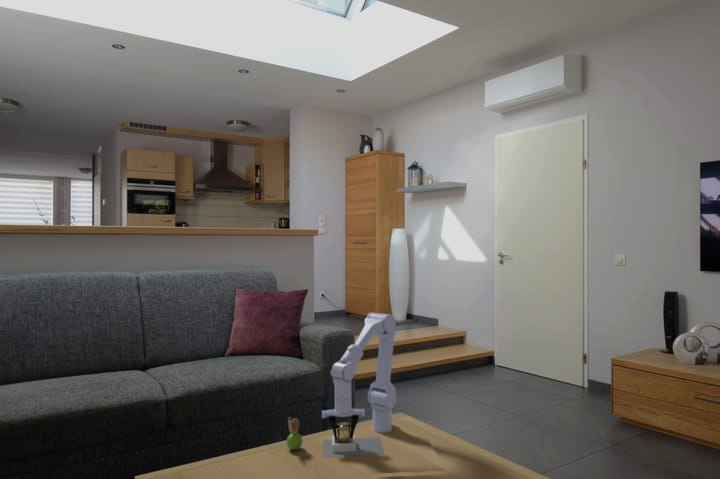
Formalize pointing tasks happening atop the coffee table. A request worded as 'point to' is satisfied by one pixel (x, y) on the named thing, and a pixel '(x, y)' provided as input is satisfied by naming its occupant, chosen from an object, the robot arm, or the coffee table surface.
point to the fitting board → (352, 447)
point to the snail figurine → (294, 435)
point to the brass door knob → (343, 432)
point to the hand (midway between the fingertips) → (343, 437)
